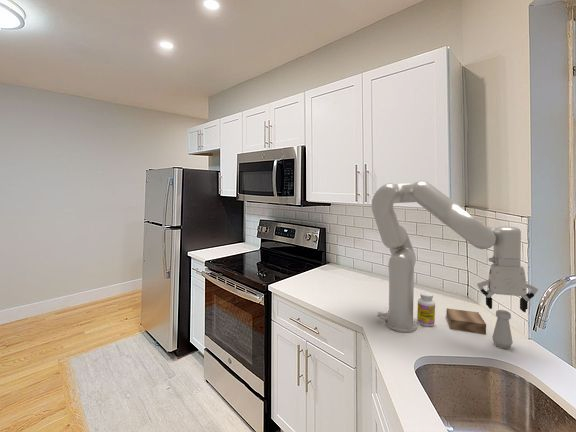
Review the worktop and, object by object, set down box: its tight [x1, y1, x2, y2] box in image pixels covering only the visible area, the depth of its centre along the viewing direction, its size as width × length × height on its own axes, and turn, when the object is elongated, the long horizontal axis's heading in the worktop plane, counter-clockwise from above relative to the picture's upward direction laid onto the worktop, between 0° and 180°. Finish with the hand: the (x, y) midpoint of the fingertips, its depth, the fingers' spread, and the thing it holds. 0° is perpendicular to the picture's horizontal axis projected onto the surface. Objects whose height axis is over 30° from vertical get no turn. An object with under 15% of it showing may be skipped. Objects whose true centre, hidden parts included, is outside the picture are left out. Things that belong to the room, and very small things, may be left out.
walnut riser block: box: [445, 308, 487, 335], centre depth 116 cm, size 12×12×4 cm
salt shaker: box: [491, 309, 513, 350], centre depth 99 cm, size 6×6×13 cm
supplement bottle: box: [416, 291, 436, 327], centre depth 118 cm, size 7×7×13 cm
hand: (505, 309), depth 99 cm, fingers open, 9 cm apart
